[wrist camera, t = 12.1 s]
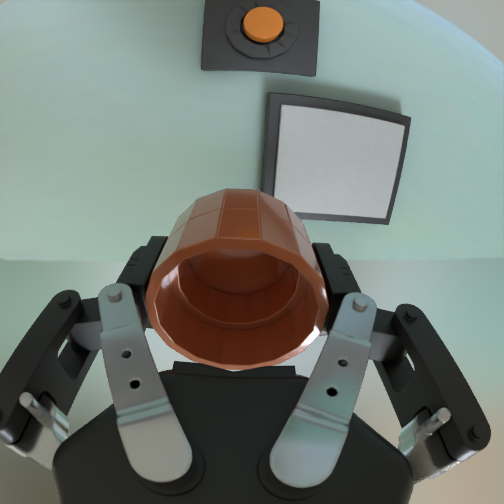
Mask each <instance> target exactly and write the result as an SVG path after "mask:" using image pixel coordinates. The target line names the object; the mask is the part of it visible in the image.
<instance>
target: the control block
mask: <svg viewBox="0 0 504 504" xmlns="http://www.w3.org/2000/svg"><path fill="white" fill-rule="evenodd" d="M257 7H269V8H272V9H274V10H276V11H277V12H278V13H279V14H280V15H281V17H282V19H283V28H282V30H281V32H280V33H279V35H278V36H277V37H276V38H275V39H274V40H272V41H269V42H256V41H254V40H252V39H250V38H249V37H248V36H247V35H246V33H245V31H244V18H245V16H246V14H247V13H248V12H249V11H250V10H252V9H254V8H257ZM319 13H320V1H316V0H205V12H204V25H203V40H202V59H201V70H203V71H257V72H272V73H283V74H293V75H301V76H309V77H314V76H316V66H317V51H318V34H319Z"/></svg>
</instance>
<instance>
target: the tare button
mask: <svg viewBox="0 0 504 504" xmlns="http://www.w3.org/2000/svg"><path fill="white" fill-rule="evenodd" d="M282 28H283V19H282V17H281V15H280V14H279V13H278V12H277V11H276V10H274V9H272V8H269V7H257V8H254V9H252V10H250V11H249V12H248V13H247V14H246V16H245V18H244V31H245V33H246V35H247V36H248V37H249V38H250V39H252V40H254V41H256V42H269V41H272V40H274V39H275V38H276V37H277V36H278V35H279V33H280V32H281V30H282Z"/></svg>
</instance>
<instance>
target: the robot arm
mask: <svg viewBox="0 0 504 504" xmlns="http://www.w3.org/2000/svg"><path fill="white" fill-rule="evenodd" d="M167 240H168V236H152V237H151V239H150V240H149V242H148V244H147V246H141V247H139V248H138V249H137V250H136V251H134V252H133V254H132V255H131V257H130V260H129V261H128V262H127V264H126V266H125V267H124V269H123V271H122V273H121V275H120V276H119V278H118V280H117V282H116V283H114V284H111V285H108V286H106V287H104V288H103V289H102V290H101V291H100V293H99V295H98V297H96V298H90V299H84V300H81V298H80V295H79V293H78V292H76V291H74V290H65V291H62V292H60V293H58V294H57V295H55V296H54V297H53V298H52V300H51V301H50V303H48V305H47V306H46V308H45V309H44V310H43V311H42V313H41V314H40V315H39V317H38V318H37V319H36V321H35V322H34V324H33V325H32V326H31V328H30V329H29V330H28V332H27V333H26V335H25V336H24V338H23V339H22V340H21V342H20V343H19V345H18V346H17V348H16V349H15V351H14V352H13V354H12V356H11V357H10V359H9V360H8V362H7V363H6V365H5V367H4V368H3V370H2V372H1V373H0V441H1V442H2V443H4V444H5V445H6V446H7V447H9V448H10V449H12V450H13V451H15V452H16V453H18V454H19V455H21V456H24V457H26V458H27V459H29V460H30V461H32V462H34V463H36V464H41V465H43V466H44V467H46V468H48V469H49V470H51V471H52V474H53V478H54V482H55V486H56V489H57V494H58V499H59V504H408V503H409V500H410V497H411V494H412V491H413V486H414V484H415V483H417V482H420V481H421V480H424V479H426V478H435V477H436V476H439V475H441V474H442V473H444V472H446V471H448V470H450V469H452V468H453V467H455V466H457V465H459V464H460V463H462V462H464V461H465V460H467V459H469V458H470V457H471V456H473V455H475V454H476V453H478V452H479V451H481V450H482V449H484V448H485V447H486V446H487V445H488V443H489V441H490V437H491V429H490V426H489V423H488V421H487V419H486V417H485V415H484V413H483V411H482V409H481V407H480V405H479V403H478V402H477V399H476V398H475V396H474V394H473V392H472V390H471V388H470V387H469V385H468V383H467V381H466V379H465V378H464V376H463V374H462V372H461V371H460V369H459V367H458V366H457V364H456V363H455V361H454V359H453V357H452V356H451V354H450V352H449V351H448V349H447V348H446V346H445V345H444V343H443V341H442V340H441V338H440V337H439V335H438V334H437V332H436V331H435V329H434V328H433V326H432V325H431V323H430V322H429V320H428V319H427V318H426V316H425V314H424V313H423V312H422V311H421V310H420V309H419V308H418V307H416V306H414V305H411V304H401V305H399V306H398V307H397V308H396V311H395V312H391V311H386V310H382V309H378V308H377V305H376V303H375V301H374V300H373V299H371V298H370V297H369V296H367V295H365V294H362V293H361V290H360V288H359V286H358V284H357V282H356V280H355V278H354V275H353V273H352V271H351V270H350V267H349V265H348V263H347V261H346V260H345V259H344V258H343V257H341V256H340V255H339V254H334V253H333V251H332V249H331V246H330V244H329V243H312V248H313V251H314V254H315V257H316V259H317V262H318V265H319V268H320V271H321V274H322V277H323V279H324V283H325V287H326V292H327V296H328V300H329V305H330V306H329V307H330V308H329V311H328V314H327V317H326V320H325V323H324V327H323V330H322V331H321V333H320V334H319V335H320V336H321V335H328V337H327V340H326V342H325V344H324V347H323V349H322V351H321V354H320V356H319V358H318V361H317V363H316V365H315V367H314V369H313V372H312V374H311V376H310V378H308V377H305V376H301V375H297V374H296V372H295V366H262V367H257V368H252V369H247V370H242V371H233V372H232V371H229V370H225V369H221V368H217V367H214V366H210V365H207V364H203V363H191V362H179V361H174V364H173V369H172V370H166V371H162V372H159V373H158V371H157V368H156V365H155V363H154V360H153V357H152V354H151V352H150V349H149V346H148V343H147V340H146V337H145V334H144V332H145V330H146V328H152V329H154V328H153V327H152V326H151V324H150V320H149V316H148V312H147V308H146V304H145V295H146V291H147V288H148V284H149V281H150V278H151V274H152V272H153V270H154V267H155V265H156V263H157V261H158V259H159V256H160V254H161V252H162V250H163V248H164V246H165V244H166V242H167ZM65 339H67V340H68V342H67V344H66V345H65V347H64V349H63V350H62V352H61V354H60V355H59V357H58V351H59V349H60V347H61V345H62V344H63V342H64V341H65ZM99 349H102V353H103V358H104V363H105V368H106V373H107V378H108V382H109V387H110V391H111V394H112V398H113V404H112V405H111V406H109V407H108V408H107V409H105V410H104V411H103V412H101V413H100V414H99V415H98V416H96V417H95V418H94V419H92V420H91V421H90V422H88V423H87V424H86V425H84V426H83V427H82V428H80V429H79V430H78V431H76V432H75V433H74V434H72V435H71V436H70V433H69V421H68V418H67V415H68V412H69V410H70V408H71V406H72V404H73V401H74V399H75V397H76V395H77V393H78V391H79V389H80V387H81V385H82V383H83V381H84V378H85V377H86V375H87V373H88V371H89V369H90V367H91V365H92V363H93V361H94V359H95V357H96V355H97V353H98V351H99ZM407 353H408V355H409V356H410V358H411V360H412V362H413V364H414V369H415V370H413V368H412V366H411V364H410V362H409V360H408V359H407V357H406V354H407ZM368 359H370V360H373V362H374V364H375V366H376V368H377V370H378V373H379V375H380V377H381V379H382V382H383V384H384V386H385V389H386V391H387V393H388V396H389V398H390V400H391V403H392V405H393V408H394V410H395V412H396V415H397V417H398V420H399V422H400V425H401V427H402V430H401V432H400V434H399V445H398V449H397V448H396V447H394V446H393V445H392V444H391V443H390V442H388V441H387V440H386V439H385V438H383V437H382V436H381V435H380V434H379V433H377V432H376V431H375V430H374V429H373V428H371V427H370V426H369V425H368V424H367V423H365V422H364V421H363V420H362V419H360V418H359V417H358V416H357V415H356V414H355V413H354V412H353V410H354V407H355V404H356V401H357V398H358V395H359V391H360V388H361V384H362V381H363V378H364V374H365V370H366V367H367V363H368Z"/></svg>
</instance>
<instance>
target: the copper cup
mask: <svg viewBox="0 0 504 504" xmlns="http://www.w3.org/2000/svg"><path fill="white" fill-rule="evenodd" d="M145 304H146V308H147V312H148V316H149V320H150V324H151V326H152V327H153V328H154V330H155V331H156V332H157V333H158V335H159V336H160V337H161V338H162V339H163V341H164V342H165V343H166V344H167V345H168V346H169V347H171V348H172V349H174V350H175V351H177V352H178V353H180V354H182V355H183V356H185V357H187V358H188V359H190V360H192V361H194V362H198V363H203V364H207V365H210V366H214V367H217V368H221V369H230V370H247V369H252V368H257V367H262V366H273V365H276V364H280V363H282V362H284V361H285V360H288V359H290V358H292V357H293V356H295V355H297V354H299V353H301V352H303V351H304V350H305V349H306V348H307V347H308V346H309V345H310V344H311V343H312V342H313V341H314V340H315V338H316V337H317V336H318V335H319V334H320V333H321V331H322V330H323V327H324V323H325V320H326V317H327V314H328V311H329V308H330V307H329V306H330V305H329V300H328V296H327V292H326V287H325V283H324V279H323V277H322V274H321V271H320V268H319V265H318V262H317V259H316V257H315V254H314V251H313V248H312V246H311V243H310V240H309V237H308V235H307V232H306V229H305V227H304V224H303V223H302V221H301V220H300V219H299V218H298V217H297V215H296V214H295V213H294V212H293V211H292V210H291V209H290V208H289V206H288V205H287V204H284V202H283V201H280V200H278V199H276V198H274V197H272V196H270V195H267V194H265V193H263V192H261V191H257V190H253V189H229V188H227V189H223V190H220V191H217V192H215V193H212V194H209V195H206V196H204V197H201V198H199V199H197V200H196V201H195V202H194V203H193V204H192V205H191V206H190V207H188V208H187V209H186V210H185V211H184V212H183V213H182V214H181V215H180V216H179V218H178V219H177V221H176V223H175V225H174V227H173V229H172V231H171V233H170V235H169V237H168V240H167V242H166V244H165V246H164V248H163V250H162V252H161V254H160V256H159V259H158V261H157V263H156V265H155V267H154V270H153V272H152V274H151V278H150V281H149V284H148V288H147V291H146V295H145Z"/></svg>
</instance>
